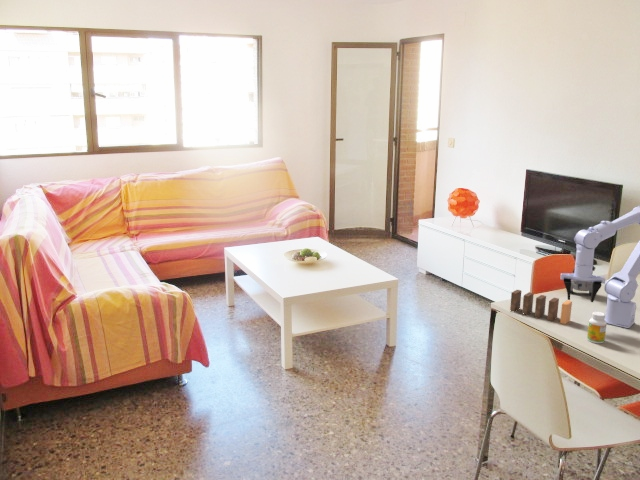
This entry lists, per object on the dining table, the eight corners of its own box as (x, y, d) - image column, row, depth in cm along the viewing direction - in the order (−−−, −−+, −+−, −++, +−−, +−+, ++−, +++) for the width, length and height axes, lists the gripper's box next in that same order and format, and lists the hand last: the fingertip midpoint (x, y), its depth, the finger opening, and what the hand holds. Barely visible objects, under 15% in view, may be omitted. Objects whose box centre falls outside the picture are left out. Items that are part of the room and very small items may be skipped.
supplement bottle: (583, 338, 205) (586, 311, 203) (595, 336, 207) (598, 310, 205) (595, 344, 201) (598, 317, 198) (608, 342, 202) (611, 315, 200)
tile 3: (544, 314, 228) (546, 295, 227) (539, 318, 225) (541, 299, 223) (539, 313, 229) (541, 294, 228) (534, 317, 226) (536, 298, 224)
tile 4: (531, 311, 231) (533, 293, 230) (526, 315, 228) (528, 296, 226) (527, 310, 233) (529, 292, 231) (522, 314, 229) (523, 295, 227)
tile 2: (557, 317, 225) (559, 298, 224) (552, 321, 222) (554, 301, 220) (552, 316, 226) (554, 297, 225) (547, 320, 223) (549, 300, 221)
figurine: (570, 298, 248) (573, 263, 244) (569, 290, 258) (572, 256, 255) (594, 300, 244) (598, 265, 241) (592, 292, 255) (596, 258, 252)
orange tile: (570, 320, 222) (572, 301, 220) (565, 324, 219) (567, 304, 217) (565, 319, 223) (567, 300, 222) (560, 323, 220) (562, 303, 218)
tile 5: (519, 308, 234) (521, 290, 233) (514, 312, 231) (516, 293, 229) (515, 307, 236) (516, 289, 234) (510, 311, 232) (511, 292, 230)
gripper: (605, 262, 214) (601, 299, 217) (561, 259, 219) (558, 294, 222) (607, 267, 208) (603, 305, 211) (562, 264, 213) (558, 300, 216)
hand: (580, 300), depth 216 cm, fingers open, 7 cm apart
